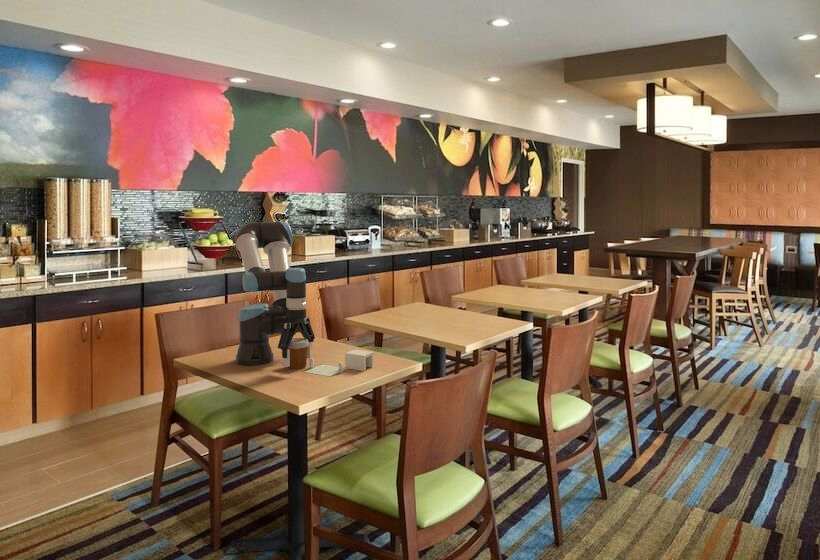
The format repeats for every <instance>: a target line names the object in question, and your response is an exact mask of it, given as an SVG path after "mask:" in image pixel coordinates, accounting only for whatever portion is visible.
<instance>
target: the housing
mask: <svg viewBox="0 0 820 560" xmlns="http://www.w3.org/2000/svg"><path fill="white" fill-rule="evenodd" d="M344 355H345V356H344V365H345V366H344V368H348V369H347V370H349V369H350V370H356V371H362V372H366V371H367V368H374V352H373V351H369V350H361V349H352V350H349V351H347V352H345V354H344Z"/></svg>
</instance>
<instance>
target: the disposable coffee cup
mask: <svg viewBox="0 0 820 560" xmlns="http://www.w3.org/2000/svg"><path fill="white" fill-rule="evenodd" d="M308 346H309V342H308V340H307V339H304V337H303V338H301V337H298V338H297V337H295V338H294V337H293V338H292V341H291V343H290V345H289V347H288V349H289V350H290V366H289V367H288V368H289V369H290V370H304V369H306V368H307V360H308V358H307V352H308Z"/></svg>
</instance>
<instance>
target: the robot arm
mask: <svg viewBox="0 0 820 560" xmlns="http://www.w3.org/2000/svg"><path fill="white" fill-rule="evenodd" d="M234 243H235V247H236V249H237V251H239V252H240V257H241V259H242V260H241V261H242V264H243V267H244V271H245V272H244V273H243V274H242V288H243V291H245V292H252V293H256V292H268V291H269V292H270V291H272V294H273V301H272V302H271V306H269V304H268V303H266V302H263V303H253V304H248V305H246V306H242V307H241V308H240V310H239V311H238V312H239V313H238V322H239V325H238V327H239V345H238V349H237V353H236V355H235V363H236V364H238V365H241V366H261V365H267V364H270V363H273V361H274V360H275V359H274V356H275V355H274V352H273V350H272V347H271V344H270V336H273V335H274V336H275V335H276V336H277V335H280V338H279V340H278V344H277V348H278V349H279V350H281V357H282V366H283V367H288V368H289V366H290V350H289V349H288V347H289V345H290V343H291V341H292V339H293V338H294V337H295V335H296V334H297V333H299V334H300V335H301V336H302V337H303V338H304V339H307V340H308V342H309V346H308V352H307V359H310V358H312V343H314V340H315V339H316V336H315V334H314V331H313V328H312V325H311V321H310V318H309V317H307V291H306V290H307V275H306V270H305V269H304V268H303V267H291V266H290V260H289V254H288V253H289V251H291V250H290V249H291V247H292V246H293V245H294V244H293V243H294V237H293V232H292V229H291V226H290V224H289V223H288V222H286V221H279V220H277V221H250V222H248V223H246V224H245V225H243V226H241V228H239V230H238V231H237V232H236V234H235V238H234ZM260 249H263V253H264V254H265V255H267V258H268V265H269V271H266V270H265V266H264V263H263V259H262V256H261V253H260Z"/></svg>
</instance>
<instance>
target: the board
mask: <svg viewBox="0 0 820 560" xmlns="http://www.w3.org/2000/svg"><path fill="white" fill-rule="evenodd" d="M308 359H309V358H308ZM314 360H315V359H314V357H311V358H310V359H309V360H308V361H309V369H308V370H305V371H304V373H305V374H313V375H319V376H325V377H333V376H334V375H336V374H343V373H344V371H345V370H349V369H348V368H345V367H344V363H343V362H338V366H334V365H328V364H321V365H318V366H314V362H315V361H314Z"/></svg>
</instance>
